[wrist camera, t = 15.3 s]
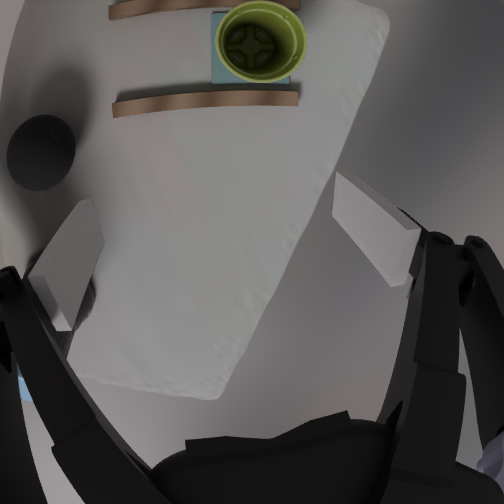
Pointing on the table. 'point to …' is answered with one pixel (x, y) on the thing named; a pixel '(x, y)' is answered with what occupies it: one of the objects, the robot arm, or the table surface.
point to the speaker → (41, 152)
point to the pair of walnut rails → (151, 3)
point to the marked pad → (218, 68)
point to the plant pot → (261, 41)
